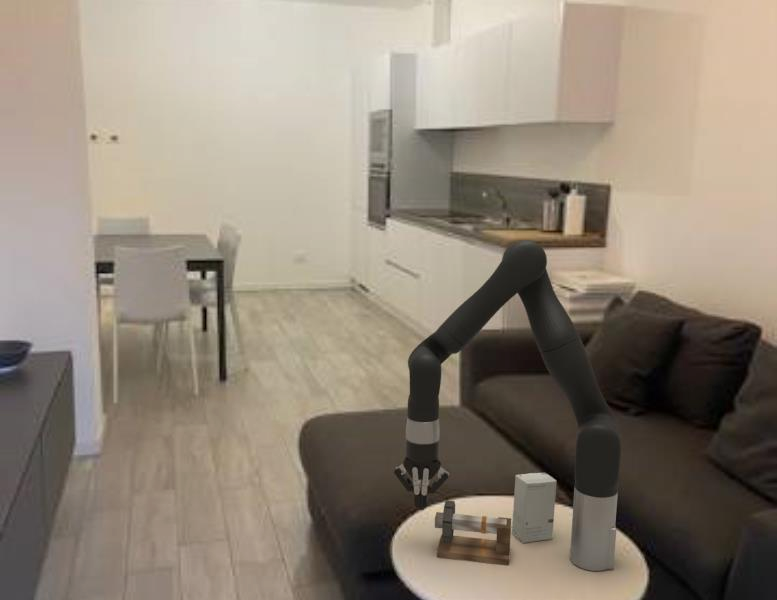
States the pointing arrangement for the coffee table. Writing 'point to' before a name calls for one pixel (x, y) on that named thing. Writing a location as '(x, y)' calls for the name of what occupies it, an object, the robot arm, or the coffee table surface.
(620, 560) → the coffee table surface
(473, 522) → the pipe stand
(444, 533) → the o ring
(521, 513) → the skincare box
